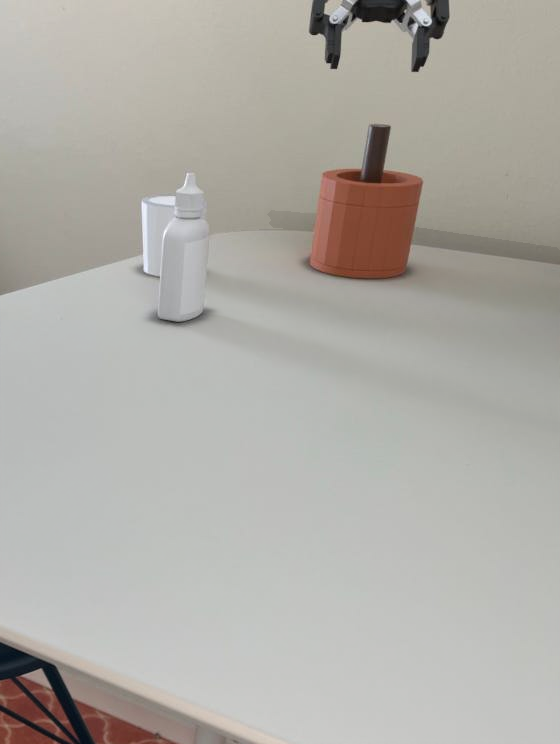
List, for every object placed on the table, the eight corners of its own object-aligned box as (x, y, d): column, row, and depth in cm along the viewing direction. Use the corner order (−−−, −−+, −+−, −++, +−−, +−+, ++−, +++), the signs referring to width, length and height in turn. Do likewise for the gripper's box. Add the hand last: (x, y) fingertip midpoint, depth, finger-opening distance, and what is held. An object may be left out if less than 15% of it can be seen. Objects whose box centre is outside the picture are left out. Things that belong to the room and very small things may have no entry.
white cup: (177, 260, 109) (181, 191, 105) (215, 274, 104) (221, 203, 101) (125, 267, 106) (128, 196, 102) (161, 282, 101) (166, 209, 98)
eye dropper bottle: (219, 317, 92) (232, 175, 85) (168, 324, 89) (178, 179, 83) (192, 305, 95) (203, 167, 88) (142, 312, 92) (150, 171, 86)
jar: (384, 255, 113) (400, 168, 108) (420, 278, 105) (438, 185, 100) (298, 255, 112) (309, 168, 107) (326, 279, 104) (340, 186, 99)
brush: (370, 253, 110) (393, 122, 103) (386, 264, 106) (411, 128, 99) (329, 253, 110) (349, 122, 102) (343, 264, 106) (365, 128, 98)
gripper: (321, -98, 105) (314, 35, 102) (459, -96, 104) (456, 39, 101) (309, -38, 112) (302, 88, 109) (438, -34, 111) (434, 93, 108)
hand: (376, 65), depth 105 cm, fingers open, 8 cm apart
